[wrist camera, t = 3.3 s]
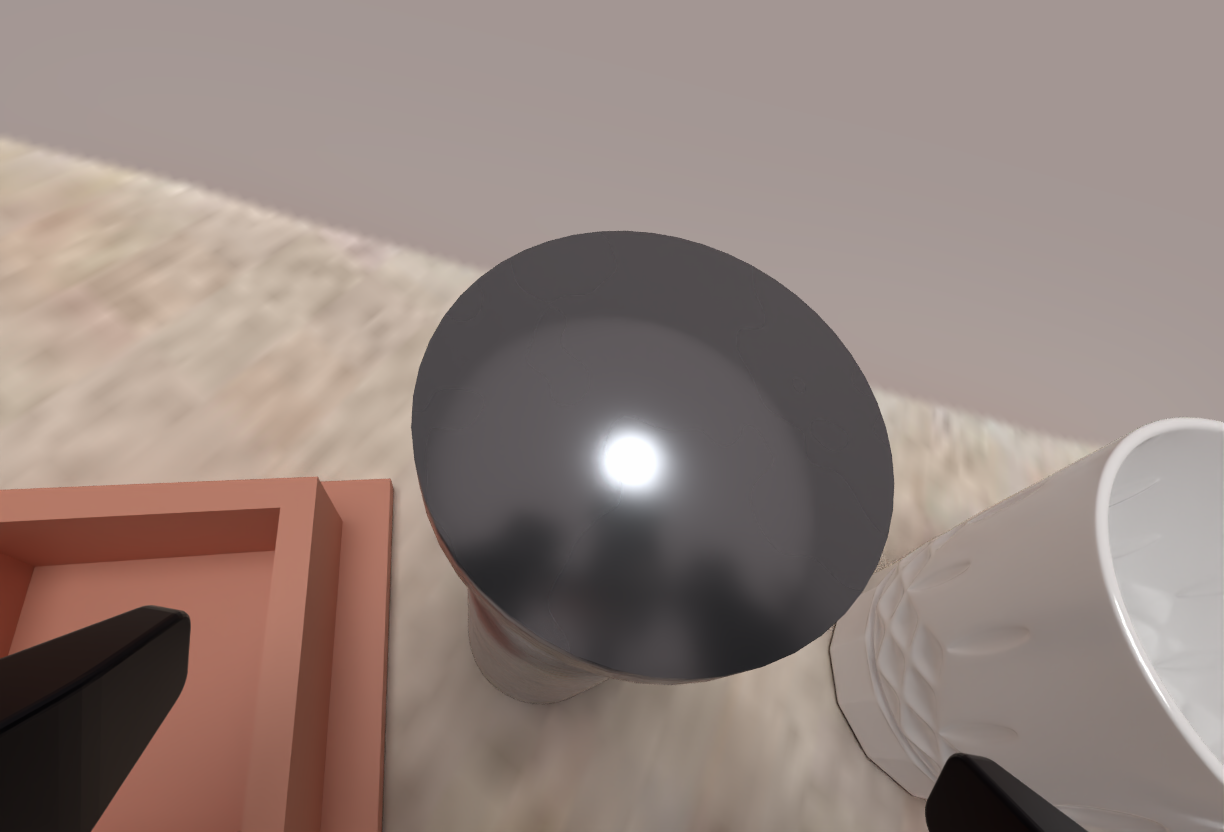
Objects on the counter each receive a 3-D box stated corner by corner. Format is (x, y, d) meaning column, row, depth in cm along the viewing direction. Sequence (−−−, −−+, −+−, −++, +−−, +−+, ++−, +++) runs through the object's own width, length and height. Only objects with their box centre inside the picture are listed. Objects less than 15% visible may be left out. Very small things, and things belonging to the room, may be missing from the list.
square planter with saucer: (378, 904, 14) (348, 957, 10) (-191, 1018, 11) (-479, 1136, 8) (393, 488, 18) (375, 428, 15) (-12, 508, 16) (-146, 441, 12)
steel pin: (662, 673, 17) (985, 550, 6) (486, 762, 15) (524, 797, 5) (590, 510, 19) (746, 202, 8) (425, 571, 17) (351, 277, 6)
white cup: (1028, 590, 21) (1415, 482, 12) (1063, 864, 17) (1666, 984, 8) (816, 525, 21) (1065, 366, 12) (801, 792, 17) (1158, 842, 8)
